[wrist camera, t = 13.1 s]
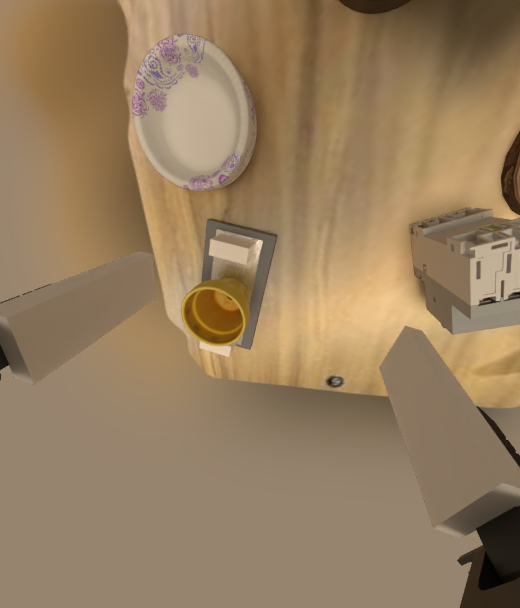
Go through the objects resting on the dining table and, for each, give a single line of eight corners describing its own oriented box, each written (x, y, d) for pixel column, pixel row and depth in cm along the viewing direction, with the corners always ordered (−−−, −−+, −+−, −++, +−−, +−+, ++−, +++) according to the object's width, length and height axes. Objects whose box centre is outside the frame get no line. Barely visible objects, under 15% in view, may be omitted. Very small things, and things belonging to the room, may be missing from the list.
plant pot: (259, 268, 40) (244, 290, 31) (258, 320, 45) (246, 351, 36) (203, 265, 42) (175, 283, 33) (208, 314, 46) (184, 343, 38)
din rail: (217, 228, 39) (216, 229, 39) (263, 240, 38) (262, 240, 38) (206, 333, 49) (205, 334, 49) (241, 343, 49) (241, 345, 48)
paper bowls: (220, 211, 39) (201, 215, 32) (149, 141, 37) (111, 129, 30) (283, 127, 33) (276, 109, 26) (201, 34, 30) (168, -14, 23)
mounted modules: (221, 233, 39) (210, 238, 34) (256, 242, 38) (248, 248, 34) (209, 333, 48) (199, 348, 44) (236, 341, 48) (229, 357, 44)
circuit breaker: (417, 307, 40) (471, 365, 26) (409, 225, 35) (470, 245, 21) (470, 297, 37) (557, 355, 24) (469, 207, 32) (579, 217, 19)
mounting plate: (210, 218, 40) (207, 219, 39) (277, 235, 39) (276, 236, 38) (200, 330, 51) (197, 334, 50) (251, 345, 50) (250, 349, 49)
